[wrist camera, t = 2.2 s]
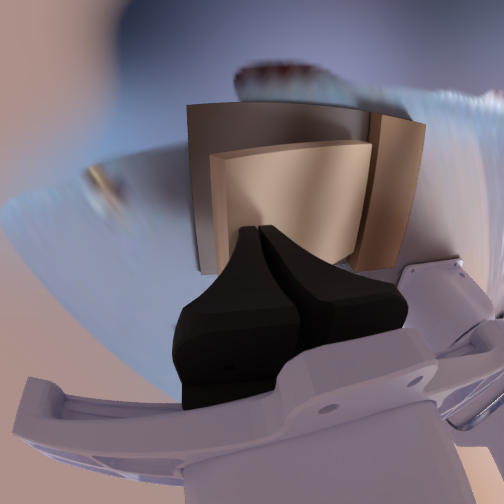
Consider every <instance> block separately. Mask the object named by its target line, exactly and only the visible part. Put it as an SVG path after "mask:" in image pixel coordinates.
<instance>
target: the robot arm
mask: <svg viewBox="0 0 504 504" xmlns="http://www.w3.org/2000/svg"><path fill="white" fill-rule="evenodd" d="M462 264H463V260H462V259H461V258H458V259H451V260H444V261H437V262H430V263H422V264H415V265H408V266H406V267H405V268H404V270H403V272H402V275H401V278H400V281H399V283H398V286H397V287H396V286H395V285H394V284H392V283H387V282H382V281H378V280H373V279H370V278H366V277H363V276H360V275H357V274H354V273H351V272H348V271H346V270H343V269H341V268H338V267H336V266H334V265H332V264H330V263H328V262H326V261H324V260H322V259H320V258H318V257H316V256H315V255H313V254H311V253H310V252H308V251H307V250H305V249H304V248H302V247H301V246H299V245H298V244H296V243H295V242H294V241H292V240H291V239H290V238H288V237H287V236H286V235H285V234H283V233H282V232H281V231H280V230H278V229H277V228H276V227H275V226H273V225H258V229H257V228H256V227H255V226H243V227H241V228H240V229H239V236H238V240H237V243H236V246H235V249H234V251H233V253H232V255H231V257H230V259H229V261H228V263H227V265H226V266H225V268H224V269H223V271H222V272H221V274H220V275H219V276H218V278H217V279H216V280H215V281H214V282H213V284H212V285H211V286H210V287H209V288H208V289H207V290H206V291H205V292H204V293H203V294H201V295H200V296H199V297H198V298H196V299H195V300H194V301H192V302H191V303H189V304H188V305H186V306H185V307H184V308H183V309H182V311H181V314H180V317H179V319H178V322H177V325H176V329H175V333H174V338H173V347H172V358H173V363H174V366H175V368H176V371H177V373H178V376H179V378H180V381H181V383H182V403H169V404H168V403H138V402H123V401H111V400H101V399H94V398H86V397H79V396H73V395H67V394H65V393H64V392H63V391H62V389H61V388H60V387H59V386H57V385H56V384H55V383H53V382H51V381H48V380H43V379H38V378H33V377H28V379H27V382H26V385H25V388H24V391H23V394H22V397H21V400H20V404H19V407H18V411H17V414H16V418H15V422H14V426H13V431H12V433H13V435H14V436H16V437H17V438H19V439H20V440H22V441H23V442H25V443H26V444H28V445H29V446H31V447H32V448H34V449H35V450H37V451H39V452H40V453H42V454H44V455H45V456H47V457H49V458H51V459H52V460H55V461H58V462H62V463H65V464H68V465H71V466H74V467H78V468H81V469H85V470H89V471H92V472H96V473H100V474H105V475H108V476H113V477H117V478H123V479H127V480H133V481H139V482H145V483H151V484H159V485H168V486H179V487H184V493H185V504H476V501H475V498H474V495H473V492H472V490H471V487H470V484H469V481H468V478H467V476H466V473H465V470H464V468H463V465H462V463H461V460H460V458H459V456H458V453H457V451H456V448H455V446H454V444H453V442H454V443H455V444H456V446H458V447H488V449H489V450H490V453H491V455H492V457H493V459H494V461H495V463H496V465H497V467H498V469H499V471H500V473H501V476H502V478H503V480H504V395H503V396H502V397H501V398H499V399H498V400H497V401H496V402H495V403H494V404H493V405H492V406H490V407H489V408H488V409H487V410H486V411H484V412H483V413H482V414H481V415H479V414H480V413H481V412H482V411H483V410H485V409H486V408H487V407H488V406H489V405H490V404H492V402H494V401H495V400H496V399H497V398H498V397H500V396H501V395H502V394H503V393H504V320H503V319H498V320H497V319H495V312H494V307H493V304H492V302H491V300H490V298H489V297H488V296H487V295H486V293H485V292H484V291H483V290H482V289H481V288H480V287H479V286H478V285H477V284H476V282H475V281H474V280H473V279H472V278H471V277H470V276H469V275H468V274H467V273H466V272H465V271H464V270H463V269H462V268H461V266H462ZM403 325H404V327H405V328H402V327H403ZM477 415H479V416H477ZM476 416H477V417H476Z"/></svg>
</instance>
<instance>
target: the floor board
mask: <svg viewBox="0 0 504 504" xmlns="http://www.w3.org/2000/svg"><path fill="white" fill-rule="evenodd" d="M368 122H369V131H368ZM187 125H188V144H189V159H190V172H191V185H192V196H193V207H194V217H195V226H196V235H197V244H198V253H199V261H200V268H201V275H211V274H218V273H217V261H216V249H215V237H214V223H213V208H212V193H211V175H210V155H212V154H218V153H223V152H230V151H236V150H243V149H250V148H257V147H265V146H274V145H283V144H293V143H305V142H318V141H335V140H360V141H364V142H367V143H371V144H372V150H371V158H370V165H369V172H368V179H367V185H366V192H365V198H364V203H363V209H362V214H361V219H360V224H359V229H358V234H357V239H356V244H355V248H354V252H353V253H351V254H350V255H349V256H346V257H345V258H343V259H341V260H339V261H338V262H336V263H334V264H332V265H336V264H346V262H348V263H349V264H350V266H351V267H352V269H353V270H354V272H359V271H367V270H376V269H384V268H393V267H394V266H395V263H396V260H397V257H398V254H399V251H400V247H401V244H402V241H403V237H404V234H405V230H406V227H407V223H408V219H409V215H410V211H411V207H412V203H413V198H414V194H415V189H416V185H417V180H418V175H419V169H420V164H421V158H422V152H423V145H424V138H425V130H426V125H425V124H422V123H418V122H415V121H411V120H407V119H402V118H398V117H393V116H388V115H383V114H378V113H373V112H370V120H369V112H367V111H361V110H354V109H347V108H339V107H331V106H322V105H311V104H297V103H276V102H229V103H210V104H209V103H208V104H196V105H195V104H194V105H187ZM367 133H368V141H367ZM347 257H348V260H347Z"/></svg>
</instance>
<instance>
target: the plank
mask: <svg viewBox="0 0 504 504" xmlns="http://www.w3.org/2000/svg"><path fill="white" fill-rule="evenodd" d="M371 150H372V144H371V143H367V142H364V141H360V140H335V141H318V142H305V143H293V144H283V145H274V146H265V147H257V148H250V149H243V150H236V151H230V152H223V153H218V154H212V155H210V175H211V193H212V208H213V223H214V237H215V249H216V261H217V273H218V276H219V275H220V274H221V272H222V271H223V269H224V268H225V266H226V265H227V263H228V261H229V259H230V257H231V255H232V253H233V251H234V249H235V246H236V243H237V240H238V236H239V229H240V228H241V227H243V226H255V227H256V228H257V229H258V225H273V226H275V227H276V228H277V229H278V230H280V231H281V232H282V233H283V234H285V235H286V236H287V237H288V238H290V239H291V240H292V241H294V242H295V243H296V244H298V245H299V246H301V247H302V248H304V249H305V250H307V251H308V252H310V253H311V254H313V255H315V256H316V257H318V258H320V259H322V260H324V261H326V262H328V263H330V264H334V263H336V262H338V261H339V260H341V259H343V258H345V257H346V256H348V255H350V254H351V253H353V252H354V248H355V244H356V239H357V234H358V229H359V224H360V219H361V214H362V209H363V203H364V198H365V192H366V185H367V179H368V172H369V165H370V158H371Z"/></svg>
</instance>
